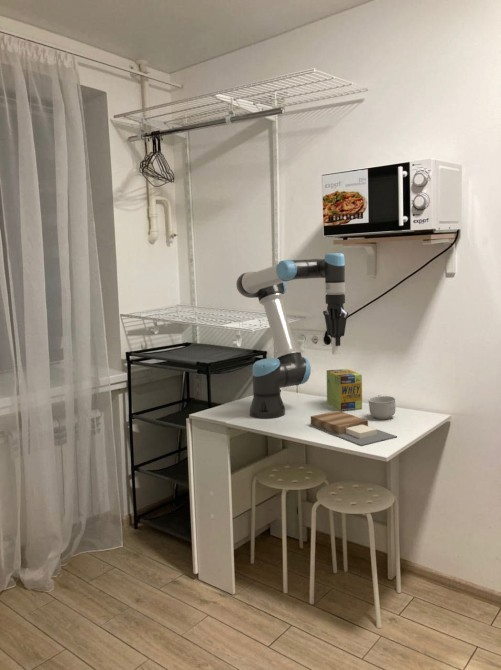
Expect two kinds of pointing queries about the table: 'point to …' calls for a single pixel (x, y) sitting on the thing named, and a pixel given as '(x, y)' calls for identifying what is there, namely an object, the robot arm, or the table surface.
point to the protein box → (344, 389)
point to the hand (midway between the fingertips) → (336, 353)
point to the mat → (363, 441)
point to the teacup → (382, 406)
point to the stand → (337, 421)
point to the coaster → (361, 431)
